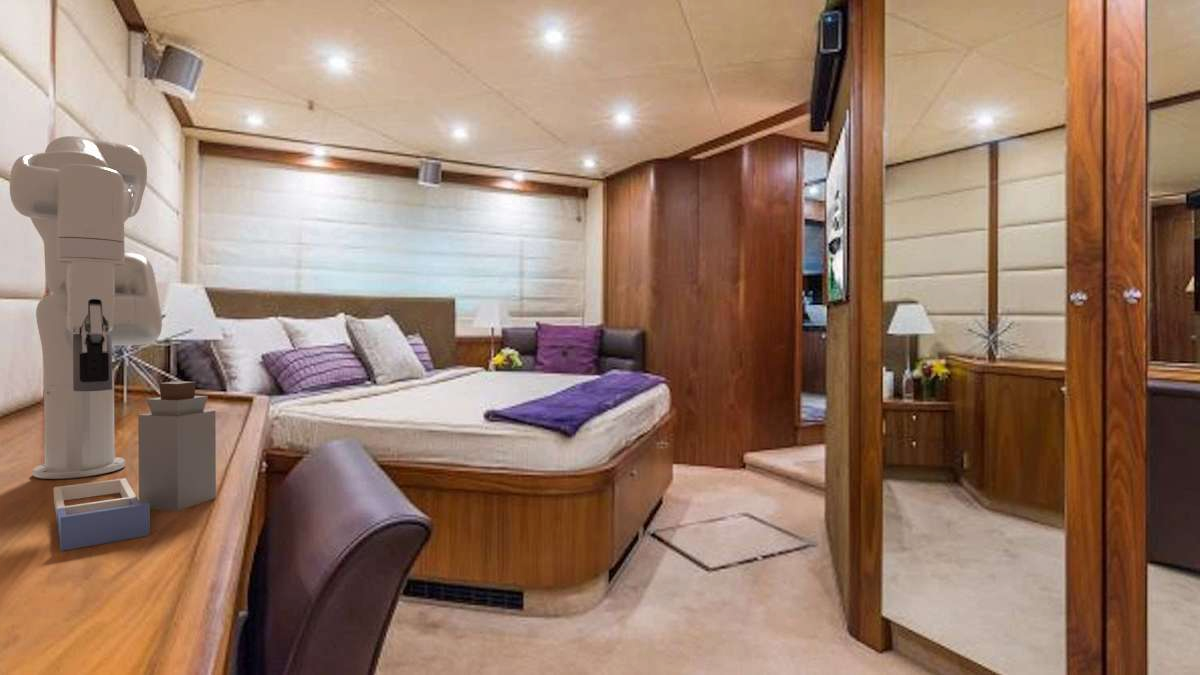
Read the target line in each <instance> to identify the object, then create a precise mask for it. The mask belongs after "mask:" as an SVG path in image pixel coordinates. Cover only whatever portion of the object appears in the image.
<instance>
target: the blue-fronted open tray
mask: <svg viewBox="0 0 1200 675" xmlns="http://www.w3.org/2000/svg"><path fill="white" fill-rule="evenodd" d="M114 494H120V496H121V498H119V497H118V498H114V499H113V498H112V499H106V500H99V501H91V502H85V503H80V504H79V503H78V504H77V503H76V504H71V505H65V502H64V501H71V500H76V499H84V498H85V499H86V498H90V497H97V496H98V497H99V496H106V495H114ZM53 505H54V510H55V517H56V518H55V519H56V525H57V533H58V538H59V539H58V540H59V546H60V552H64V551H69V550H75V549H81V548H85V547H86V548H87V547H91V546H97V545H102V544H108V543H114V542H119V541H125V540H129V539H130V540H131V539H134V538H135V539H136V538H140V537H142V538H143V537H148V536H150V535H151V534H150V532H151V531H150V530H151V529H150V528H151V527H150V521H151V519H150V518H151V514H150V512H151V511H150V510H151V508H150V504H149V503H143V504H140V502H139V498H138V496H136V494H135V492H134V490H133V488H132V486H131V485H130V484H129V482H128V480H127V478H126V477H124V478H117V479H109V480H101V481H93V482H86V483H84V482H83V483H77V484H70V485H63V486H61V485H60V486H54V487H53Z"/></svg>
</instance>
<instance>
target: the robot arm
mask: <svg viewBox="0 0 1200 675" xmlns="http://www.w3.org/2000/svg"><path fill="white" fill-rule="evenodd" d="M147 168H148V167H147V163H146V159H145V158H144V156H143V154H142V153H141V152H140V150H139V149H138V148H136V147H135V146H132V145H129V144H125V143H120V142H119V143H118V142H113V141H107V140H100V139H94V138H89V137H81V136H75V135H74V136H71V135H70V136H61V137H57V138H55V139H53V140H51V142H49V144H47V146H46V147H45V150H44V152H40V153H30V154H25V155H22V156H19V157H18V158H17V159H16V160H15V161H14V163H13V165H12V167H11V170H10V175H9V196H10V201H11V203H12V206H13V207H14V209H15V210H16V211H17V212H18V213H19V214H20V215H22V216H25V217H27V218H30V221H31V222H32V224H33V227H34V228H35V229H36V231H37V233H38V234H39V236H40V238H41V239H42V242H43V251H44V253H43V254H44V268H45V269H44V271H45V279H46V284H47V287H48V289H49V291H50V292H51V293H50V294H48V295H46V296H44V297H42V299H41V300H40V301H39V302H38V304H37V306H36V311H35V312H36V313H35V316H36V317H35V319H36V324H37V329H38V335H39V338H40V345H41V352H42V362H43V363H42V364H43V365H42V366H43V402H44V403H43V406H44V407H43V408H44V410H43V412H44V413H43V414H44V415H43V416H44V464H40V465H38V466H35V467H34V468H33V469H32V476H33V477H35V478H37V479H42V480H45V479H46V480H64V479H75V478H84V477H85V478H87V477H92V476H98V475H103V474H108V473H112V472H116V471H118V470H121V469H123V468H124V467H125V466H126V459H124V458H123V457H119V456H115V455H116V454H115V373H114V370H113V368H112V389H110V390H102V391H73V334H81V335H82V354H79V355H80V381H81V382H100V381H108V379H109V353H107V334H112V347H113V346H114V347H115V346H143V345H149V344H152V343H154V342H156V341H157V340H158V338H160V335H161V333H162V329H163V328H162V327H163V324H162V322H163V318H162V311H161V305H160V300H159V299H160V298H159V294H158V287H157V282H156V278H155V277H156V275H155V272H154V269H153V268H154V267H153V265H152V263H151V262H150V261H149V259H148V258H146V257H145V256H143V255H141V254H137V253H131V252H125V222H126V221H127V220H128V219H129V218H132V217H134V216H136V215H137V213H138V212H139V210H140V207H141V204H142V201H143V196H144V193H145V190H146V186H147V181H148V169H147Z"/></svg>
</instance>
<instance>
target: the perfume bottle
mask: <svg viewBox="0 0 1200 675" xmlns="http://www.w3.org/2000/svg"><path fill="white" fill-rule="evenodd" d="M158 386H159V394H160V395H159V397H153V398H152V397H151V398H146V402H147V406H148V407H149V410H150V412H149V413H143V414H138V415H137V417H138V419H137V421H138V427H137V428H138V431H137V432H138V435H137V436H138V500H139V502H140V504H143V503H149V504H150V509H152V510H153V509H154V510H164V511H165V510H166V511H173V512H174V511H175V512H179V511H181V510H185V509H187V508H191V507H193V506H196V505H200V504H203V503H205V502H208V501H211V500H214V499H216V498H217V492H216V490H217V487H216V486H217V485H216V484H217V481H216V480H217V479H216V478H217V474H216V473H217V472H216V470H217V468H216V466H217V465H216V464H217V463H216V461H217V460H216V459H217V458H216V457H217V456H216V455H217V454H216V453H217V452H216V450H217V448H216V444H217V442H216V441H217V439H216V438H217V437H216V436H217V434H216V429H217V427H216V425H217V424H216V419H217V418H216V417H217V416H216V409H215V410H211V409H205V406H206V404H207V401H208V398H209V396H208V395H196V394H195V393H196V386H197V381H184V380H183V381H181V380H176V381H165V382H159V383H158Z"/></svg>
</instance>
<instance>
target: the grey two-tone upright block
mask: <svg viewBox="0 0 1200 675" xmlns="http://www.w3.org/2000/svg"><path fill="white" fill-rule="evenodd" d="M107 353H109V379H108V381H100V382H81V381H80V355H79V354H82V335H81V334H73V391H102V390H110V389H112V369H113V346H112V334H107Z"/></svg>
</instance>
